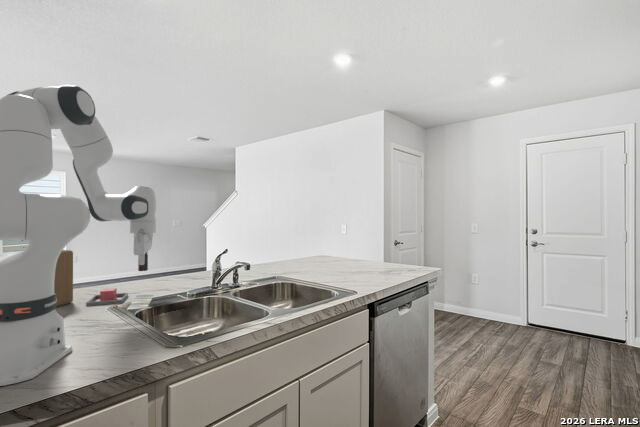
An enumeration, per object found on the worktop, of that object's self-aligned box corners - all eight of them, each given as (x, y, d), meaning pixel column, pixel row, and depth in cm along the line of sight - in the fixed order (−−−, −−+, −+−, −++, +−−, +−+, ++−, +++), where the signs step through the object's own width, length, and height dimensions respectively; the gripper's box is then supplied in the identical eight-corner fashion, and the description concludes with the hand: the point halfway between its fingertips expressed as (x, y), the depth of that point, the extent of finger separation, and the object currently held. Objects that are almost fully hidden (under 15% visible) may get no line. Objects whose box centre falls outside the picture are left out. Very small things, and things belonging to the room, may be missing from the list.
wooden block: (47, 310, 115) (47, 253, 115) (24, 308, 117) (24, 252, 117) (74, 302, 125) (74, 250, 125) (52, 300, 127) (52, 249, 127)
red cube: (113, 302, 124) (113, 290, 124) (100, 303, 122) (100, 291, 122) (116, 299, 128) (116, 288, 128) (103, 300, 126) (103, 289, 126)
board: (148, 309, 116) (148, 307, 116) (125, 311, 114) (125, 309, 114) (155, 296, 135) (155, 294, 135) (135, 297, 133) (135, 295, 133)
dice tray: (121, 305, 122) (122, 299, 122) (86, 308, 118) (86, 302, 118) (127, 297, 132) (127, 292, 132) (95, 300, 128) (95, 295, 128)
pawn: (147, 270, 127) (147, 248, 127) (137, 271, 126) (137, 249, 126) (148, 269, 130) (148, 248, 130) (139, 269, 129) (139, 248, 129)
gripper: (148, 229, 120) (148, 267, 120) (155, 227, 139) (154, 259, 139) (128, 230, 117) (128, 268, 118) (138, 227, 137) (138, 260, 137)
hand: (142, 263), depth 128 cm, fingers closed on pawn, 3 cm apart
